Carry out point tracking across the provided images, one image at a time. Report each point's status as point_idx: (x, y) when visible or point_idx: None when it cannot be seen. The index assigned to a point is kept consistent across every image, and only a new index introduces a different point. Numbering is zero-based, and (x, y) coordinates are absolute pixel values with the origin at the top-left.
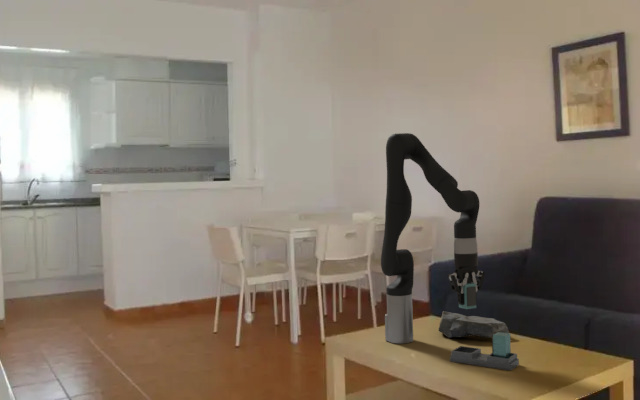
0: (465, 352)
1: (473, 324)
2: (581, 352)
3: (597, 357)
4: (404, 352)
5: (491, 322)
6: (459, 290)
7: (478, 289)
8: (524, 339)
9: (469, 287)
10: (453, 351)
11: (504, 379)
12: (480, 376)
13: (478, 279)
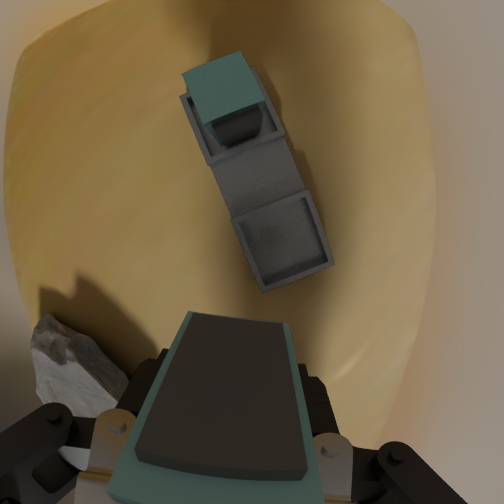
0: (313, 217)
1: (110, 386)
2: (14, 128)
3: (25, 84)
4: (344, 389)
5: (52, 373)
6: (357, 466)
7: (80, 419)
8: (27, 288)
9: (264, 471)
10: (332, 256)
11: (325, 45)
12: (360, 98)
13: (27, 493)
